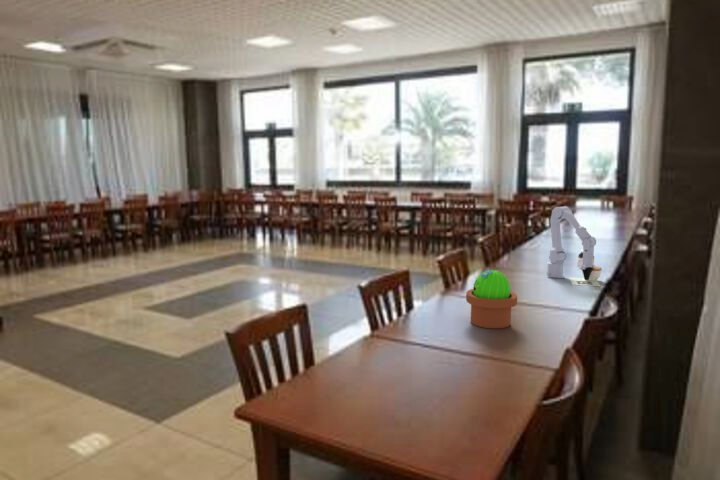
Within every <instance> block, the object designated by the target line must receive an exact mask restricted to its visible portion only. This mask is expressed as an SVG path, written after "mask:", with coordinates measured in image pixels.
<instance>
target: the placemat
mask: <svg viewBox="0 0 720 480" xmlns="http://www.w3.org/2000/svg"><path fill="white" fill-rule="evenodd" d="M568 279H569V281H570V282H571V284H572V285H573V286H584V287H585V286H587V287H602V286H601V284H600V283H599V281H598V280H596V281H589V280H585V279H584V277H568Z"/></svg>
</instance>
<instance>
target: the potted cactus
mask: <svg viewBox="0 0 720 480" xmlns="http://www.w3.org/2000/svg"><path fill="white" fill-rule="evenodd" d="M508 278H509V277H508ZM508 278H507V276H506V274H504V273H502V271H501V272H500V271H499V270H497V269H496V270H495V269H491V268H490V270H489V269H486V270H485V271H482V272H481V273H480V274H479V275H477V278H475V280H474V283H473V287H472V288H471V289H468V290H466V292H465V293H466V296H465V300H466V302H467V303H468V304H469V305H470V322H471V323H472V324H473V325H474V326H475V327H476V326H477V327H480V328H482V329H483V328H484V329H496V330H497V329H504V328H505V329H506V328H508V327H509V326H510V325H511V323H512V322H511V321H512V320H511V319H512V318H511V317H512V308H514V307H516V306H517V305H518V304H517V303H518V295H517V294H516V293H515V292H513V291H511V288H512V287H511V285H510V282H509V281H510V280H509V279H508Z"/></svg>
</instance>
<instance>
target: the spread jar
mask: <svg viewBox="0 0 720 480" xmlns="http://www.w3.org/2000/svg"><path fill="white" fill-rule="evenodd" d="M580 251H581V252H580V253H579V254H578V256H577V262H576V263H577V267H578V268H579V269H581V266H582V263H583V249H581V250H580ZM593 263H594V264H595V256H594V255H593Z"/></svg>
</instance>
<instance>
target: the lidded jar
mask: <svg viewBox="0 0 720 480" xmlns="http://www.w3.org/2000/svg"><path fill="white" fill-rule="evenodd" d="M590 268H593V270H592V272H591V274H590V277H589V281H598V279H600V277H601V275H602V267H600V266H594V267H590ZM581 271H582V270H581ZM582 276H583V277H584V274H583V271H582Z"/></svg>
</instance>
